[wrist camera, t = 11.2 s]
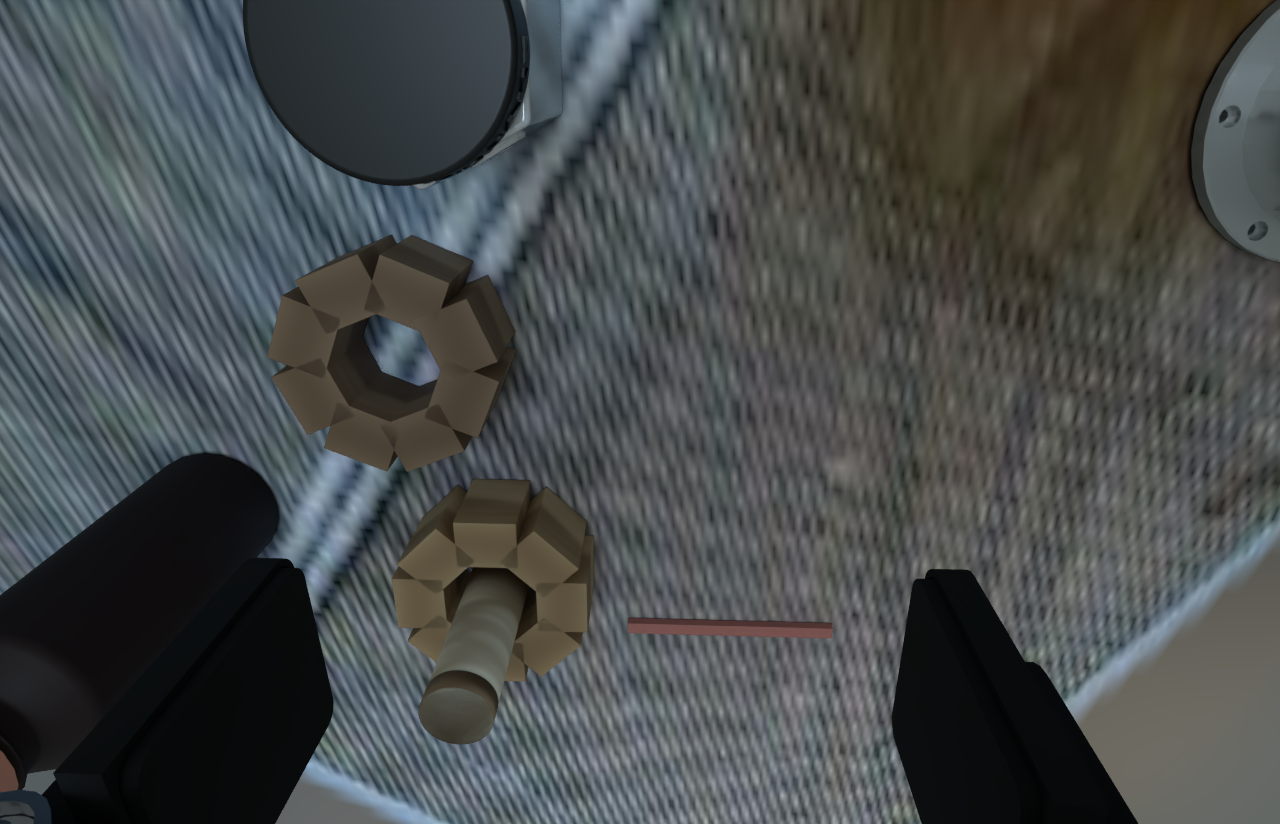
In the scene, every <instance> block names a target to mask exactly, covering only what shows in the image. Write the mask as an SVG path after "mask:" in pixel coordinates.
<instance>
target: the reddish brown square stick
mask: <svg viewBox="0 0 1280 824" xmlns="http://www.w3.org/2000/svg"><path fill="white" fill-rule="evenodd" d="M832 632H833V628H832V624H831V623H805V622H766V621H727V620H688V619H650V618H628V633H648V634H686V635H725V636H763V637H801V638H832Z"/></svg>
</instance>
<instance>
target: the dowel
mask: <svg viewBox="0 0 1280 824" xmlns="http://www.w3.org/2000/svg"><path fill="white" fill-rule="evenodd" d="M528 587H529V585H528V584H526V583H525V582H524V581H523V580H521V579H520V578H519V577H518V576H516V575H515V574H514V573H513V572H512V571H510V570H509V569H508V568H487V567H473V570H472V572H471V575H470V577H469V580H468V582H467V585H466V588H465V590H464V593H463V595H462V598H461V601H460V603H459V606H458V608H457V611H456V614H455V616H454V619H453V621H452V624H451V627H450V629H449V632H448V634H447V637H446V640H445V642H444V645H443V647H442V650H441V653H440V655H439V658H438V660H437V663H436V666H435V668H434V671H433V673H432V676H431V679H430V681H429V684H428V686H427V688H426V690H425V693H424V695H423V698H422V701H421V703H420V706H419V711H418V712H419V719H420V722H421V724H422V725H423V727H424V728H425V729H426V730H427V731H428V732H429V733H430V734H431V735H432V736H434V737H435V738H437V739H439V740H441V741H444V742H447V743H452V744H470V743H474V742H477V741H479V740H481V739H482V738H484V737H485V736H486V735H487V734H488V733H489V732H490V731H491V729H492V727H493V724H494V720H495V716H496V712H497V708H498V703H499V699H500V695H501V691H502V687H503V683H504V680H505V676H506V672H507V668H508V664H509V660H510V657H511V653H512V649H513V645H514V641H515V637H516V634H517V630H518V626H519V622H520V618H521V614H522V610H523V607H524V603H525V599H526V595H527V591H528Z"/></svg>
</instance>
